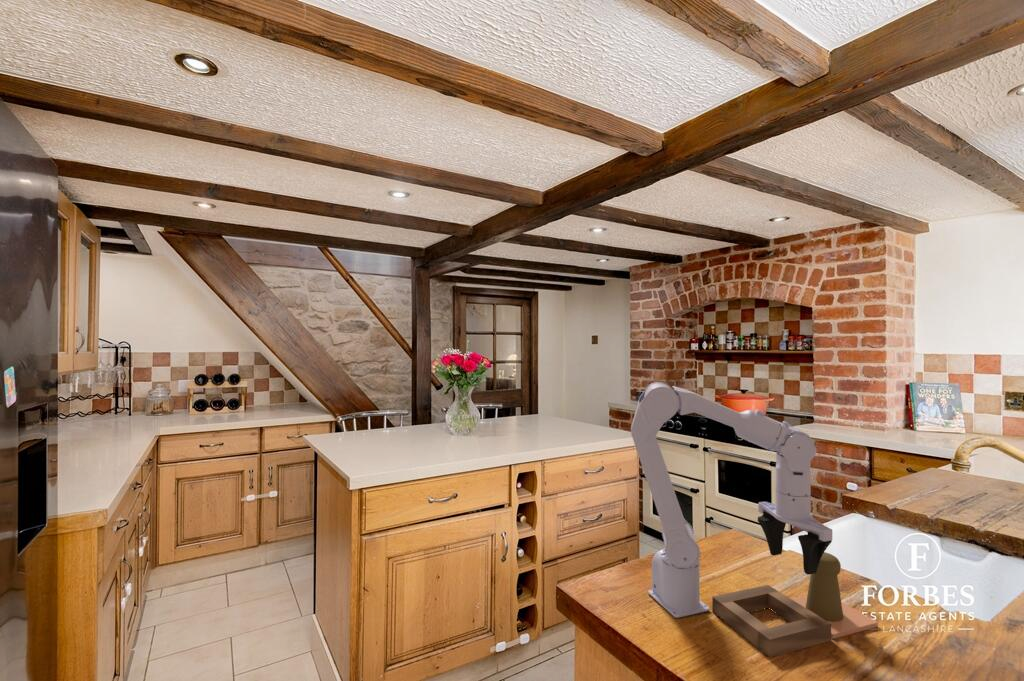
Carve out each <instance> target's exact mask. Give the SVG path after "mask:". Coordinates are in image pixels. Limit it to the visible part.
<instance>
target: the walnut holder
mask: <svg viewBox="0 0 1024 681" xmlns="http://www.w3.org/2000/svg"><path fill="white" fill-rule="evenodd" d="M711 599H712V600H711V601H712V602H711V603H712V613H713V614H714V615H716V616H717V617H718V616H719V617H720V618H719V617H718V618H719V619H721V620H722V619H723V620H724V621H725V622H724V621H723V620H722V621H723V622H724V623H725V624H727V625H728V626H729V625H730V626H729V627H731V628H732V629H733V630H734V631H736V632H737V631H738V632H739V633H738V632H737V633H738V634H740V635H741V636H742V637H743V636H744V637H743V638H745V639H746V640H747V641H748V642H750V643H751V644H753V645H754V646H755V647H756V648H757V649H758V650H759V651H761V652H762V653H763V654H765V655H766V656H767V657H769V658H773V657H776V656H780V655H784V654H788V653H790V652H795V651H798V650H802V649H805V648H810V647H813V646H816V645H821V644H824V643H828V642H832V638H831V623H829V622H828V621H826V620H824V619H823V618H821V617H819V616H818V615H816V614H815V613H813V612H811V611H810V610H808V609H806V608H805V607H803V606H802V605H800V604H798V603H797V602H795V601H793V600H792V599H791V597H789V596H788V595H786V594H784V593H782V592H780V591H779V590H777V589H776V588H774V587H772V586H771V585H769V584H766V585H761V586H756V587H753V588H752V587H751V588H747V589H746V588H745V589H743V590H737V591H732V592H728V593H723V594H719V595H714V596H712V598H711ZM764 608H770V609H772V610H773V611H774V612H776V613H777V614H779V615H780V616H781V617H780V616H779V615H778V616H779V617H780V618H782V617H783V618H784V619H783V618H782V619H783V620H785V621H786V622H787V621H788V622H787V623H784V624H778V625H775V626H772V627H769V626H768V625H766V624H764V623H763V622H762V621H761V620H760V619H758V618H757V617H755V616H754V615H752V613H753V612H752V611H756V610H760V611H763V610H762V609H764ZM770 609H769V610H770ZM764 610H765V609H764ZM773 611H772V612H773ZM748 612H751V613H748ZM756 612H757V611H756ZM774 612H773V613H774ZM776 613H775V614H776ZM777 614H776V615H777Z"/></svg>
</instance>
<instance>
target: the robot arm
mask: <svg viewBox="0 0 1024 681" xmlns="http://www.w3.org/2000/svg"><path fill="white" fill-rule="evenodd" d="M673 389H674V390H673ZM677 412H678V413H679V415H680V416H684V415H688V414H693V413H695V414H698V415H700V416H703V417H706V418H708V419H711V420H713V421H716V422H719V423H721V424H723V425H726V426H729V427H731V428H733V430H734V432H735V435H736V436H737V437H738V438H739V439H740V438H741V439H743V440H744V441H747V442H749V443H750V444H751V443H752V444H753V445H757V446H759V447H761V448H762V449H763V448H764V449H765V450H768V451H771V452H773V451H775V452H776V453H775V454H776V455H775V459H776V460H775V504H774V503H771V502H768V501H759V502H758V507H757V508H758V513H760V514H762V515H761V516H760V515H759V516H758V517H757V522H758V523H759V525H760V526H761V527H760V528H762V532H763V533H764V536H765V539H766V541H767V542H766V543H767V546H768V549H769V553H770V556H778V555H782V552H783V546H784V543H783V542H784V541H783V540H784V532H785V528H786V524H788V525H790V526H792V527H794V528H797V529H800V530H801V531H804V532H805V533H807V534H801V535H800V534H799V535H798V536H797V539H798V541H799V544H800V547H801V550H802V551H801V552H802V561H803V562H802V564H803V571H804V574H806V575H811V574H814V573H816V572H817V568H818V565H819V562H820V560H821V557H822V555H823V553H824V552H825V551H826V550H827V549H828V547H829V546H830V545H831V543H832V541H833V529H832V528H830V527H828V526H826V525H824V524H823V523H821V522H820V521H818V520H817V519H815V518H814V517H813V513H811V511H812V510H811V508H812V506H811V500H812V499H811V496H812V495H811V493H812V492H811V491H812V489H811V487H812V486H811V485H812V484H811V483H812V474H811V473H812V472H811V461H812V460H813V459H814V458H815V456H816V454H817V450H818V448H817V447H816V446H815V442H814V440H813V438H811V436H810V435H809V434H808V433H806V432H804V431H802V430H800V429H798V428H796V427H794V426H793V425H792V424H790V423H789V422H787V421H784V420H783V421H782V422H781V421H778V420H776V419H774V418H771V417H769V416H766V415H765V411H762V410H760V409H758V408H756V409H755V410H752V409H746V410H743V411H740V412H739V411H736V410H735V409H732V408H730V407H727V406H725V405H723V404H721V403H718V402H716V401H714V400H712V399H710V398H707V397H705V396H704V395H703V396H702V395H701V394H698V393H697V392H694V391H691V390H688V389H684V388H682V387H679V386H675V385H672V386H670V385H669V384H668V383H665V382H661V381H655V382H652V383H650V384H649V385H648V386H646V388H645V389H644V390H643V392H642V393H641V394H640V396H639V397H638V401H637V406H636V409H635V412H634V415H633V419H632V422H631V425H630V434H631V437H632V440H633V443H634V447H635V450H636V452H637V455H638V457H639V458H638V459H639V461H640V464H641V466H642V470H643V473H644V475H645V479H646V482H647V485H648V487H649V490H650V494H651V497H652V499H653V503H654V505H655V508H656V510H657V514H658V517H659V520H660V524H661V526H662V527H661V536H662V539H663V543H664V547H663V549H660V550H658V551H657V552H656V553H655V554H654V556H653V557H652V560H651V589H648V590H647V593H648V595H650V596H651V597H652V598H653V600H655V601H656V602H657V603H658V604H660V605H661V606H662V607H663V608H664V609H665V610H666V611H667V612H668V613H669V614H670V615H672V616H673V618H677V619H678V618H682V617H683V618H684V617H688V616H691V615H696V614H700V613H704V612H709V611H710V610H711V608H710V607H709V606H708V605H707V604H705V603H704V602H703V601H702V600H701V599H700V597H701V596H700V595H701V594H700V592H701V591H700V557H701V549H700V547H699V545H698V543H697V540H696V537H695V534H694V533H695V532H694V529H693V526H692V525H691V523H689V522H688V521H687V520H686V519H685V517H684V515H683V511H682V509H681V506H680V503H679V500H678V497H677V493H676V492H675V489H674V486H673V482H672V479H671V477H670V474H669V471H668V469H667V468H668V467H667V465H666V462H665V459H664V456H663V453H662V450H661V448H660V444H659V442H658V438H657V435H658V432H660V429H661V428H662V426H663V425H664V424H665V423H666V422H667V421H669V420H670V419H671V418H673V417H674V416H675V415H676V414H677Z"/></svg>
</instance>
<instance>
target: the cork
mask: <svg viewBox="0 0 1024 681" xmlns="http://www.w3.org/2000/svg"><path fill="white" fill-rule="evenodd" d="M841 569H842V566H841V562H840V560H839V559H838V558H837V556H835V555H833V554H831V553H829V552H825V551H824V553H823V555H822V557H821V560H820V562H819V565H818V568H817V572H816V573H814V574H810V577H809V578H810V579H809V582H808V583H809V584H808V589H807V595H808V596H807V602H806V609H808V610H810V611H811V612H813V613H815V614H816V615H818V616H819V617H821V618H823V619H824V620H826V621H831V622H838V621H841V620H842V619H843V610H842V604H841V602H842V598H841V591H840V585H839V579H838V578H839V577H838V576H839V575H840V573H841Z"/></svg>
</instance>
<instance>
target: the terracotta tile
mask: <svg viewBox="0 0 1024 681" xmlns="http://www.w3.org/2000/svg"><path fill="white" fill-rule="evenodd" d="M807 596H808V594H805V595H802V596H796V597H792V598H791V597H790V599H792V600H793V601H795V602H797V603H798V604H800V605H802V606H803V607H805V608H806V602H807ZM841 604H842V610H843V619H842V620H841V621H838V622H831V621H828V622H829V623H831V640H832V639H833V640H834V639H838V638H842V637H845V636H849V635H851V634H855V633H860V632H863V631H864V632H865V631H867V630H871V629H874V628H878V627H879V626H878V625H879V623H878V621H877V620H875V619H872V618H871V617H869V616H867V615H865V614H863V613H862V612H860V611H858V610H857V609H855V608H853V607H851V606H850V605H848V604H845V603H844V602H842V601H841Z"/></svg>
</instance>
